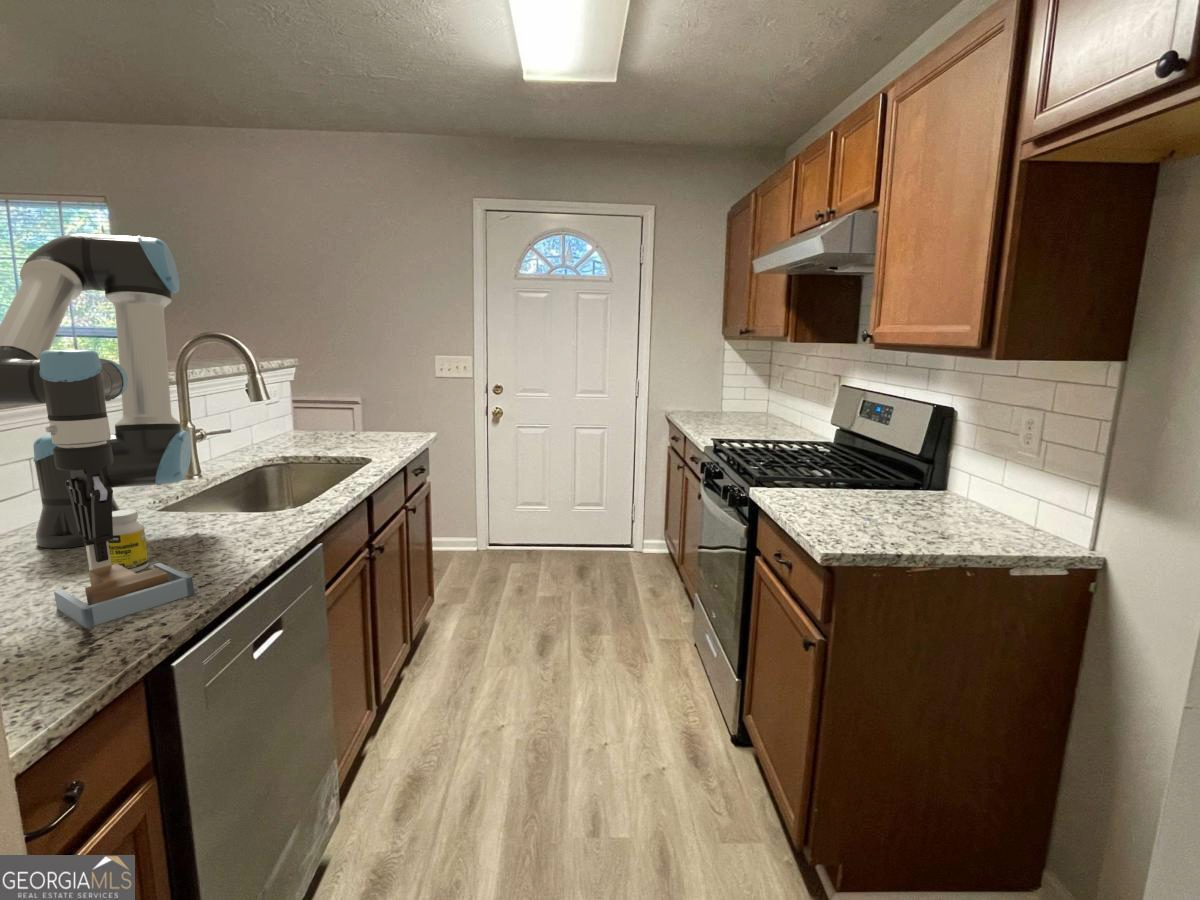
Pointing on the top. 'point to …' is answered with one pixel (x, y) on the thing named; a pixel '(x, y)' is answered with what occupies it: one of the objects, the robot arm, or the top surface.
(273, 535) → the top surface
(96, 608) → the dock
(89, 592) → the t block
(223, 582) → the top surface
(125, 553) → the pill bottle
